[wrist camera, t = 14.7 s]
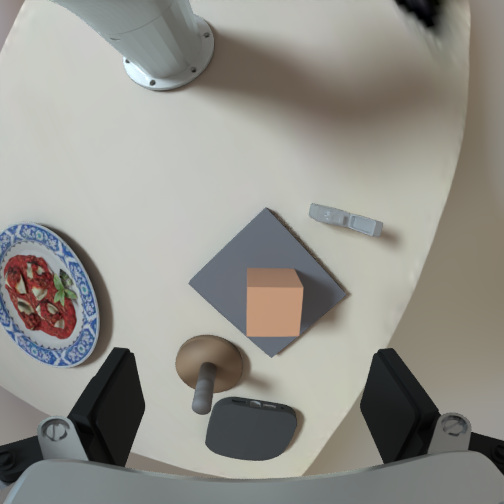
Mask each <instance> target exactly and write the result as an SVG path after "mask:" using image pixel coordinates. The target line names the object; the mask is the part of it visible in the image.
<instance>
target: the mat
mask: <svg viewBox="0 0 504 504" xmlns="http://www.w3.org/2000/svg"><path fill="white" fill-rule="evenodd" d="M247 268H289V269H294V270H295V272H296V274H297V276H298V278H299V280H300V282H301V284H302V286H303V300H302V311H301V322H300V332H299V335H300V334H302V333H303V332H304V331H305V330H306V329H308V328H309V327H310V326H311V325H312V324H313V323H315V322H316V321H317V320H318V319H319V318H320V317H322V316H323V315H324V314H325V313H326V312H327V311H329V310H330V309H331V308H332V307H333V306H334V305H335V304H336V303H338V302H339V301H340V300H341V299H342V298H343V297H344V296H345V295H346V294H345V292H344V291H343V290H342V289H341V288H340V287H339V286H338V284H337V283H336V282H335V281H334V280H333V279H332V278H331V277H330V276H329V274H328V273H327V272H326V271H325V270H324V269H323V268H322V267H321V266H320V265H319V263H318V262H317V261H316V260H315V259H314V258H313V257H312V256H311V255H310V254H309V253H308V251H307V250H306V249H305V248H304V247H303V246H302V245H301V244H300V243H299V242H298V241H297V240H296V239H295V237H294V236H293V235H292V234H291V233H290V232H289V231H288V230H287V229H286V228H285V227H284V226H283V225H282V224H281V223H280V222H279V220H278V219H277V218H276V217H275V216H274V215H273V214H272V213H271V212H270V211H269V210H268V209H267V208H265V209H264V210H263V211H261V212H260V213H259V214H258V215H257V216H256V217H255V218H254V219H253V220H252V221H251V222H250V223H249V224H248V225H247V226H246V227H245V228H244V229H243V230H241V231H240V232H239V233H238V234H237V235H236V236H235V237H234V238H233V239H232V240H231V241H230V242H229V243H228V244H227V245H226V246H225V247H224V248H223V249H222V250H221V251H220V252H219V253H218V254H217V255H216V256H215V257H213V258H212V259H211V260H210V261H209V262H208V263H207V264H206V265H205V266H204V267H203V268H202V269H201V270H200V271H199V272H198V273H197V274H196V275H195V276H194V277H193V278H192V279H191V280H190V282H189V285H190V286H192V287H193V288H194V289H195V290H196V291H197V292H198V293H199V294H200V295H201V296H202V297H203V298H204V299H205V300H207V301H208V302H209V303H210V304H211V305H212V306H213V307H214V308H215V309H216V310H217V311H218V312H220V313H221V314H222V315H223V316H224V317H225V318H226V319H227V320H228V321H230V322H231V323H232V324H233V325H234V326H235V327H236V328H237V329H239V330H240V331H241V332H242V333H243V334H244V335H245V336H246V337H248V338H249V339H250V340H251V341H252V342H253V343H255V344H256V345H257V346H258V347H259V348H260V349H261V350H263V351H264V352H265V353H266V354H267V355H269V356H270V357H271V358H272V357H273V356H274V355H276V354H277V353H278V352H279V351H281V350H282V349H283V348H284V347H286V346H287V345H288V344H289V343H291V342H292V341H293V340H294V339H295V338H297V337H298V336H288V337H250V336H247V328H246V309H247Z"/></svg>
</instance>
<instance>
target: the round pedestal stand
mask: <svg viewBox="0 0 504 504" xmlns="http://www.w3.org/2000/svg"><path fill="white" fill-rule="evenodd" d="M176 370H177V373H178V375H179V377H180V378H181V379H182V381H183V382H184V383H186V384H187V385H188V386H190V387H191V388H193V389H195V394H194V399H193V403H192V409H193V411H194V412H195V413H197V414H201V415H205V414H208V413H209V412H210V411H211V405H212V398H213V393H219V392H223V391H226V390H228V389H230V388H232V387H233V386H234V385H236V383H237V382H238V381H239V379H240V377H241V374H242V358H241V355H240V353H239V351H238V350H237V348H236V347H235V346H234V345H233V344H232V343H230V342H229V341H227V340H225V339H223V338H221V337H218V336H213V335H200V336H196V337H193V338H191V339H189V340H187V341H186V342H185V343H184V344H183V345H182V346H181V347H180V349H179V352H178V354H177V357H176Z"/></svg>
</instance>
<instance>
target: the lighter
mask: <svg viewBox="0 0 504 504" xmlns="http://www.w3.org/2000/svg"><path fill="white" fill-rule="evenodd" d="M309 216H310V217H311V218H313V219H315V220H316V221H319V222H324V223H329V224H334V225H338V226H343V227H349V228H350V229H353V230H356V231H359V232H362V233H365V234H367V235H370V236H375V237H379V236H380V235H381V230H382V226H383V223H382V222H380V221H377V220H373V219H370V218H367V217H363V216H360V215H356V214H350V213H348V212H345V211H343V210H340V209H336V208H332V207H327V206H323V205H318V204H313V203H312V204H311V206H310V211H309Z"/></svg>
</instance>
